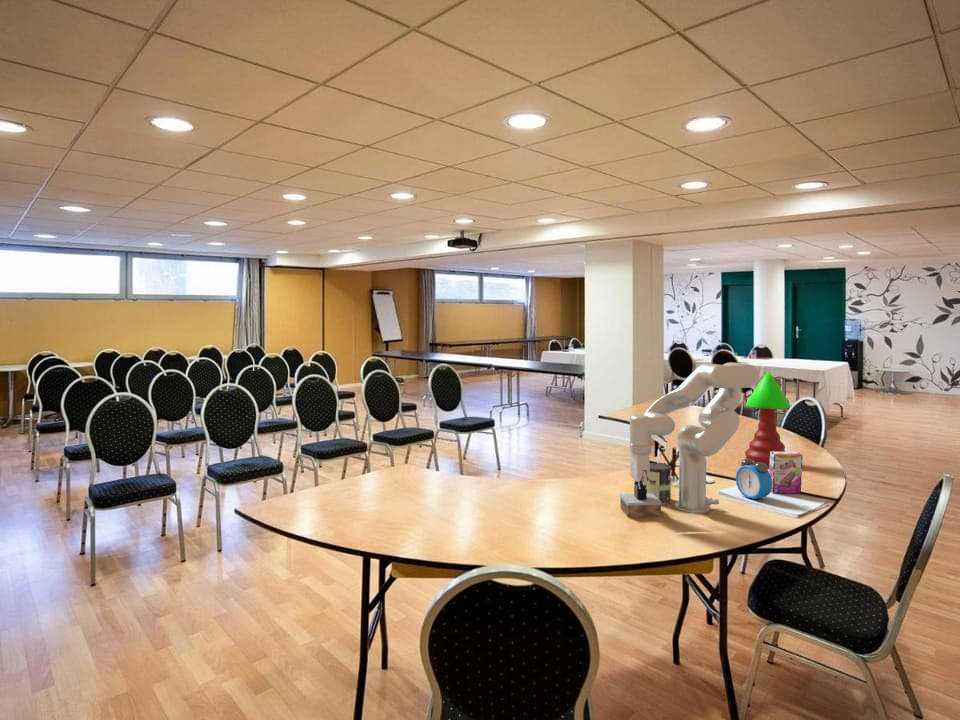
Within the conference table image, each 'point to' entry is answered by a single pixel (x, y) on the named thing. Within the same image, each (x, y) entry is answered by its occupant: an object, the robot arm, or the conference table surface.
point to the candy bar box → (786, 472)
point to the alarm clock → (753, 479)
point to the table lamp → (766, 420)
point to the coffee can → (660, 482)
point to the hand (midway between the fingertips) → (640, 497)
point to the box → (640, 510)
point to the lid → (633, 500)
